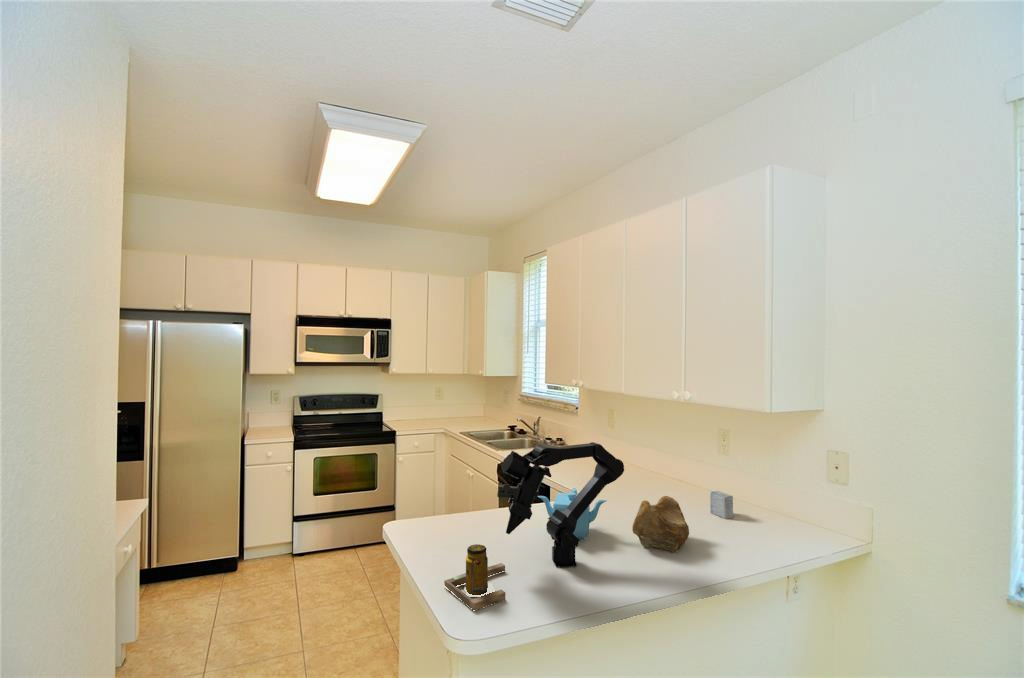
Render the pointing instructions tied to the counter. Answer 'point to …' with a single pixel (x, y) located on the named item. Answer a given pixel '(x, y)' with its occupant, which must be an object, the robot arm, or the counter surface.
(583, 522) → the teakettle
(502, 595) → the rail bay
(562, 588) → the counter surface
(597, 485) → the robot arm
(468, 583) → the condiment
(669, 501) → the rough brown rock
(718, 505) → the medicine box
